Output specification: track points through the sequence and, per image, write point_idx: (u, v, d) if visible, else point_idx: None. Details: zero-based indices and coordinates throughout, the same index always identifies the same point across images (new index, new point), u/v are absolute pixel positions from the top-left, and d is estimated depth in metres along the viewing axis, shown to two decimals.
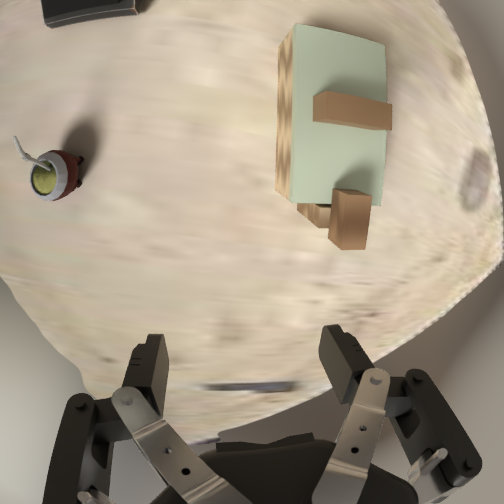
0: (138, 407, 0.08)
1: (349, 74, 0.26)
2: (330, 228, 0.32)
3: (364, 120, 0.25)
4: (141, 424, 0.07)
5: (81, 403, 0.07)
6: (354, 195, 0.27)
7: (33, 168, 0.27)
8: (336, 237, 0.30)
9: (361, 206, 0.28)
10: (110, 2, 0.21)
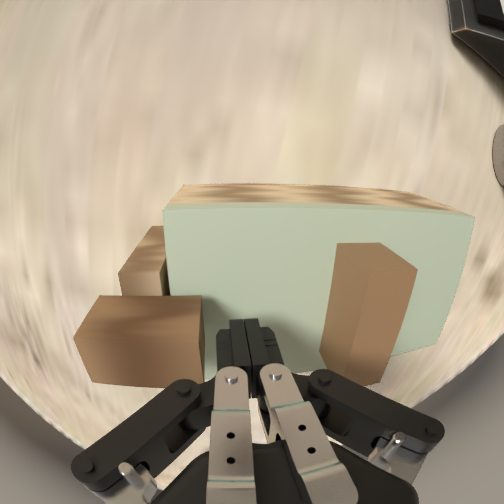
0: (247, 384, 0.09)
1: None
2: (116, 300, 0.14)
3: (359, 347, 0.14)
4: (228, 404, 0.09)
5: (185, 390, 0.09)
6: (198, 356, 0.12)
7: None
8: (99, 319, 0.12)
9: (176, 372, 0.12)
10: (479, 7, 0.11)
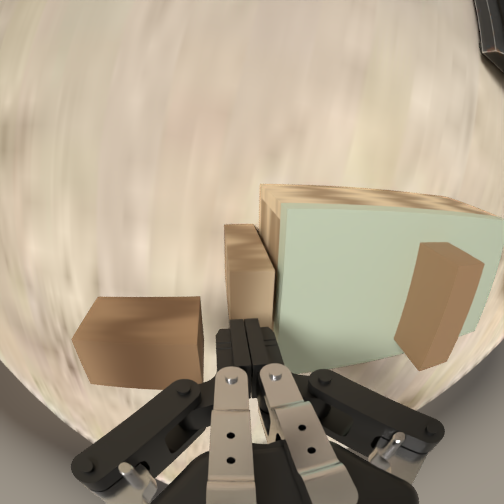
0: (247, 384, 0.09)
1: None
2: (115, 301, 0.14)
3: (441, 329, 0.14)
4: (228, 404, 0.09)
5: (185, 390, 0.09)
6: (197, 357, 0.11)
7: None
8: (97, 320, 0.12)
9: (175, 373, 0.12)
10: None
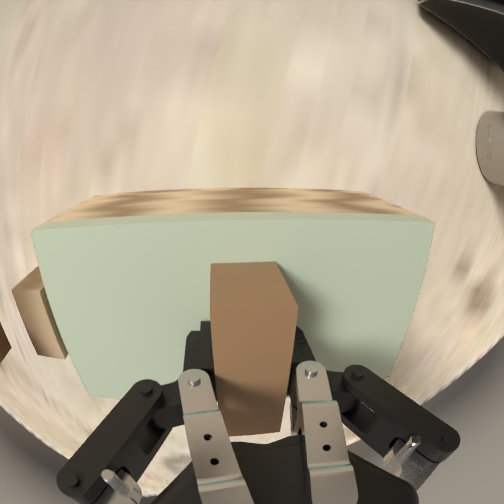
0: (208, 387, 0.09)
1: (332, 332, 0.15)
2: None
3: (227, 396, 0.11)
4: (197, 407, 0.08)
5: (147, 389, 0.09)
6: None
7: None
8: None
9: None
10: None
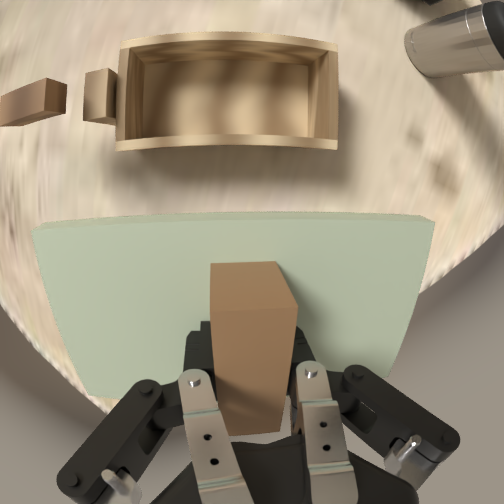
0: (208, 387, 0.09)
1: (332, 332, 0.15)
2: None
3: (227, 395, 0.11)
4: (197, 407, 0.08)
5: (147, 389, 0.09)
6: (45, 87, 0.15)
7: None
8: None
9: (34, 100, 0.15)
10: None
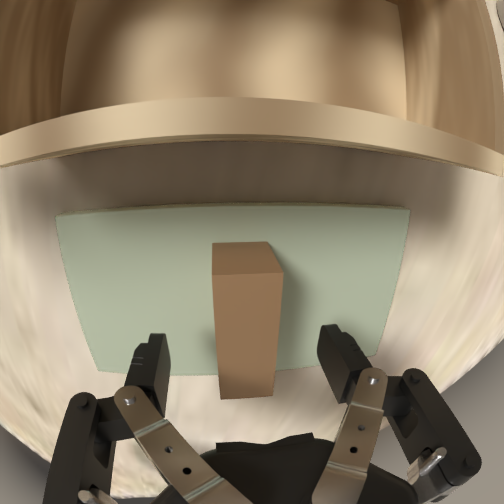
0: (141, 406, 0.08)
1: (319, 307, 0.18)
2: None
3: (226, 355, 0.13)
4: (143, 423, 0.07)
5: (83, 402, 0.07)
6: None
7: None
8: None
9: None
10: None
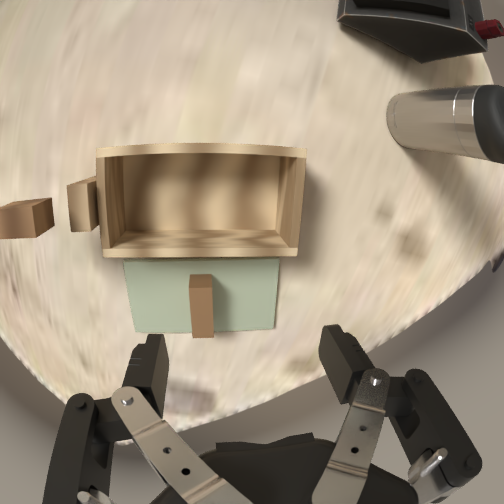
0: (138, 407, 0.08)
1: (237, 301, 0.41)
2: (18, 201, 0.22)
3: (194, 317, 0.36)
4: (141, 424, 0.07)
5: (81, 403, 0.07)
6: (32, 215, 0.19)
7: None
8: (6, 206, 0.20)
9: (25, 225, 0.20)
10: None
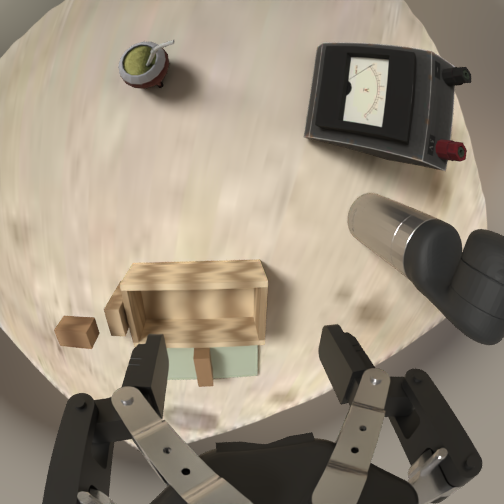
0: (138, 407, 0.08)
1: (229, 360, 0.55)
2: (69, 317, 0.36)
3: (198, 375, 0.50)
4: (141, 424, 0.07)
5: (81, 403, 0.07)
6: (87, 337, 0.34)
7: (151, 46, 0.27)
8: (62, 324, 0.34)
9: (82, 342, 0.34)
10: (318, 117, 0.34)
